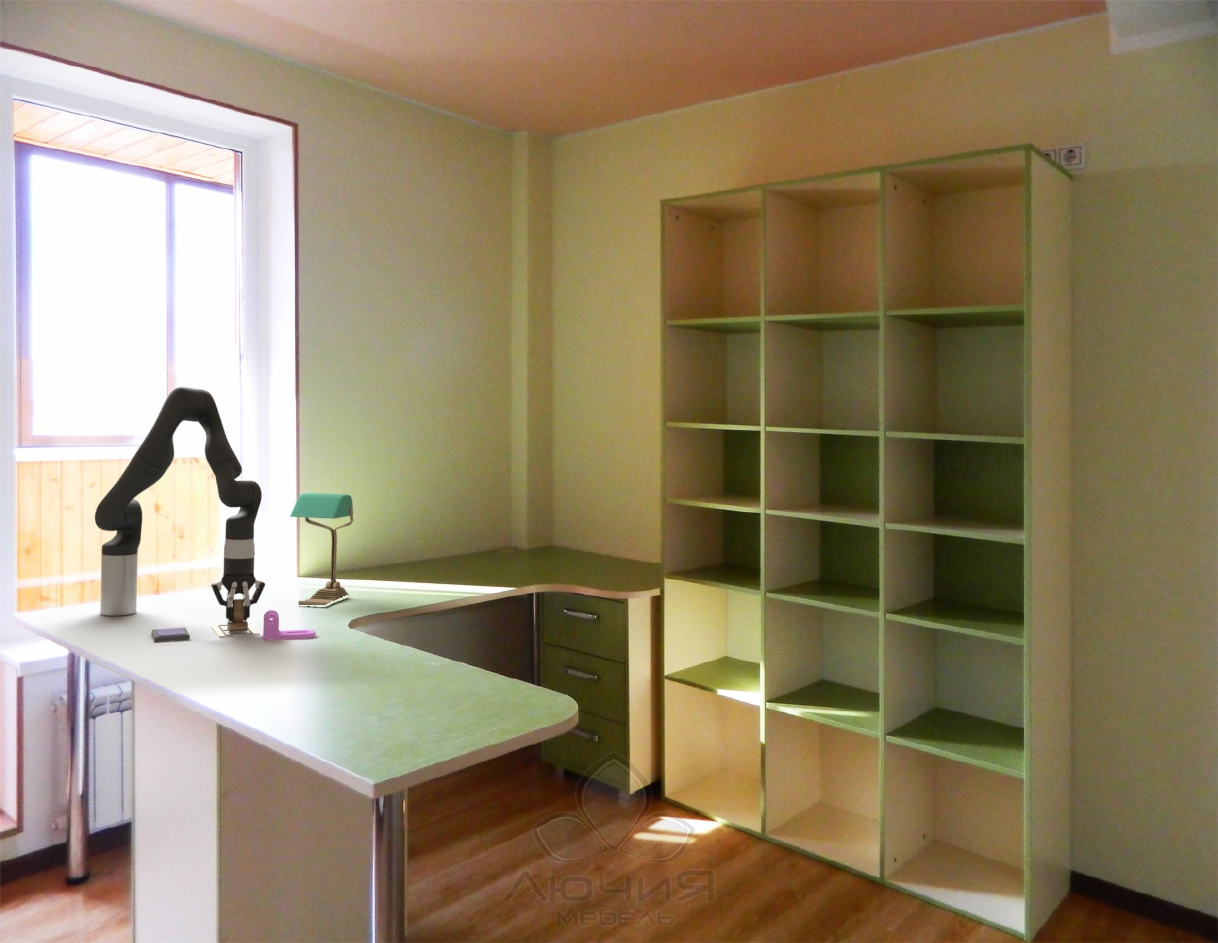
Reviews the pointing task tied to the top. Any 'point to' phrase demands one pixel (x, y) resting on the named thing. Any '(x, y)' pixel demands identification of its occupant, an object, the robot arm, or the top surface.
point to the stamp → (237, 617)
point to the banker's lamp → (331, 508)
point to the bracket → (274, 633)
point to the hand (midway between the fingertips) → (237, 619)
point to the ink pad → (170, 634)
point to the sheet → (224, 632)
